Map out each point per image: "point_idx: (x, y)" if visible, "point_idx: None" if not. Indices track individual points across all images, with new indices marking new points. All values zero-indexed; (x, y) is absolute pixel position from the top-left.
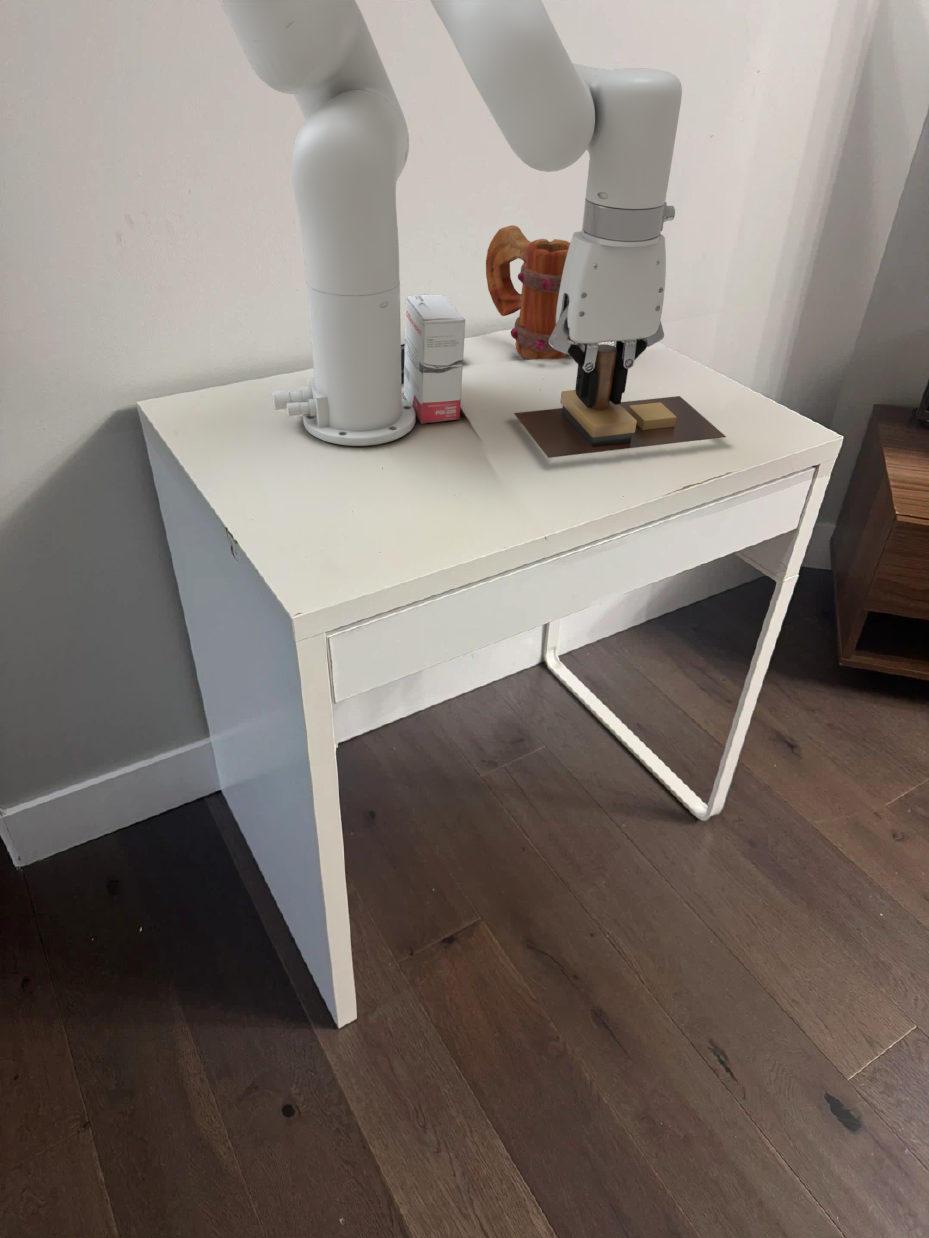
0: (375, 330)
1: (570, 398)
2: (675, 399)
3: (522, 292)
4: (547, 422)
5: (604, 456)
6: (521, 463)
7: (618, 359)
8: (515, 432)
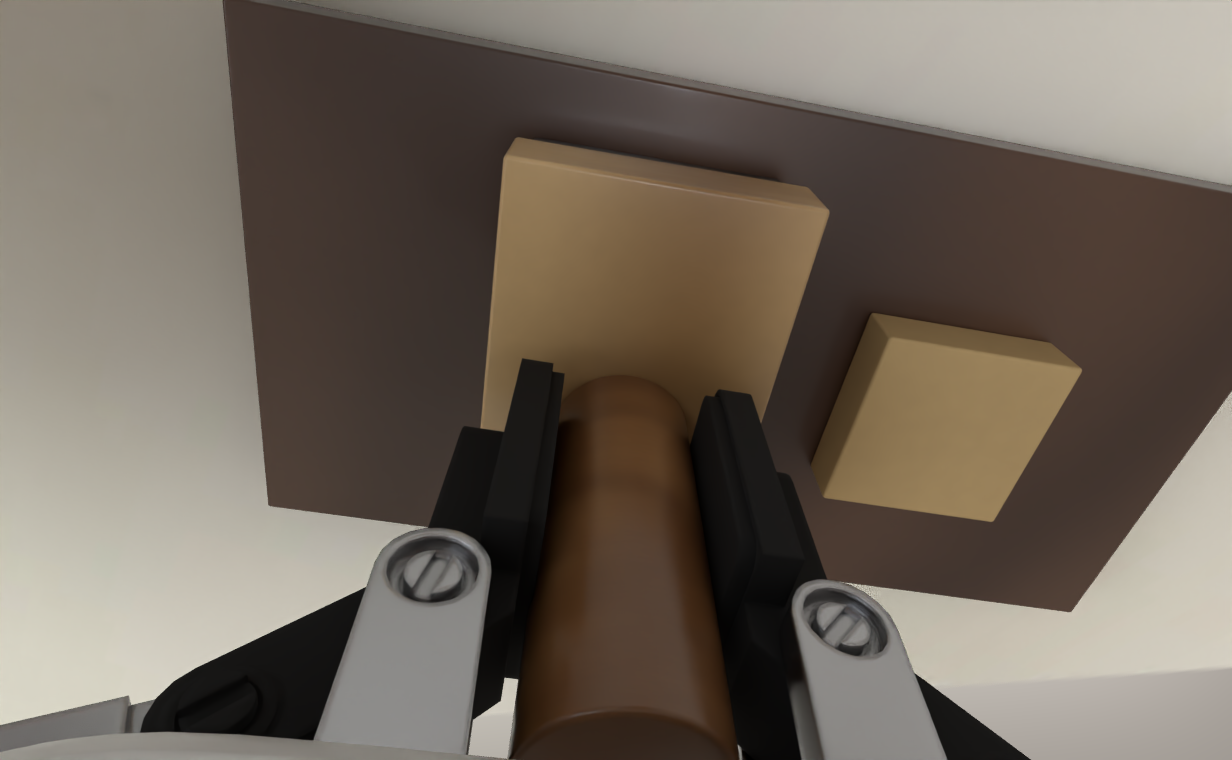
0: None
1: (504, 291)
2: None
3: None
4: (393, 216)
5: None
6: (187, 409)
7: (738, 716)
8: None
